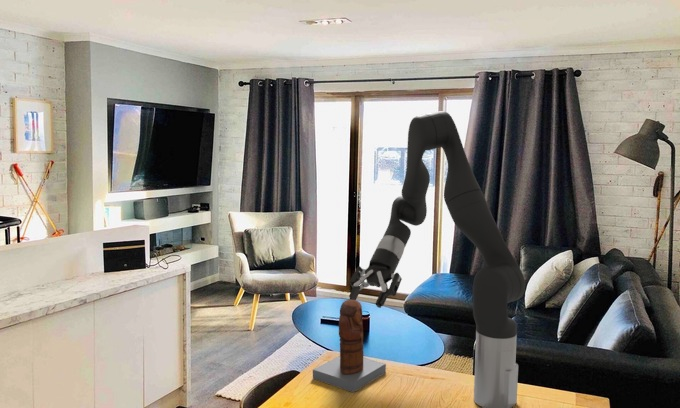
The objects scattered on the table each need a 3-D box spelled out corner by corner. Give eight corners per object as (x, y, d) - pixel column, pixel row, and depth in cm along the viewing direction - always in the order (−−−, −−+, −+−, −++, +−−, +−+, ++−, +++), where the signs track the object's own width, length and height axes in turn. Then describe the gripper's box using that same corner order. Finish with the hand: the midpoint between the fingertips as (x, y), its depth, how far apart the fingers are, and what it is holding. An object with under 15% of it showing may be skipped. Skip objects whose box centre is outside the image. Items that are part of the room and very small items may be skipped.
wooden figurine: (362, 376, 140) (362, 307, 138) (337, 375, 141) (337, 306, 139) (364, 358, 152) (365, 294, 150) (341, 357, 153) (342, 293, 151)
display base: (385, 372, 149) (385, 363, 148) (353, 392, 137) (353, 382, 137) (346, 360, 157) (346, 352, 156) (312, 378, 145) (312, 369, 144)
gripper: (361, 244, 160) (337, 291, 152) (404, 250, 151) (381, 300, 143) (371, 259, 164) (348, 305, 157) (414, 266, 156) (392, 315, 148)
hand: (364, 303), depth 150 cm, fingers open, 8 cm apart
